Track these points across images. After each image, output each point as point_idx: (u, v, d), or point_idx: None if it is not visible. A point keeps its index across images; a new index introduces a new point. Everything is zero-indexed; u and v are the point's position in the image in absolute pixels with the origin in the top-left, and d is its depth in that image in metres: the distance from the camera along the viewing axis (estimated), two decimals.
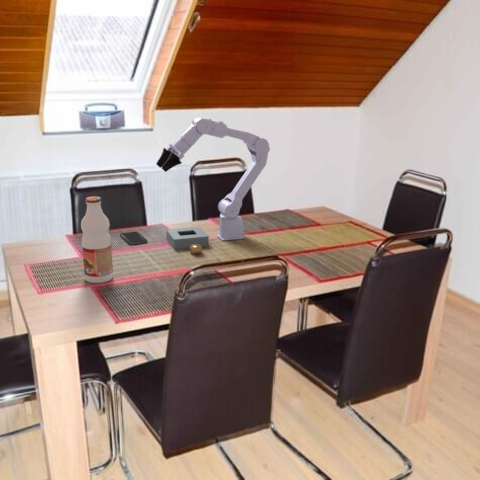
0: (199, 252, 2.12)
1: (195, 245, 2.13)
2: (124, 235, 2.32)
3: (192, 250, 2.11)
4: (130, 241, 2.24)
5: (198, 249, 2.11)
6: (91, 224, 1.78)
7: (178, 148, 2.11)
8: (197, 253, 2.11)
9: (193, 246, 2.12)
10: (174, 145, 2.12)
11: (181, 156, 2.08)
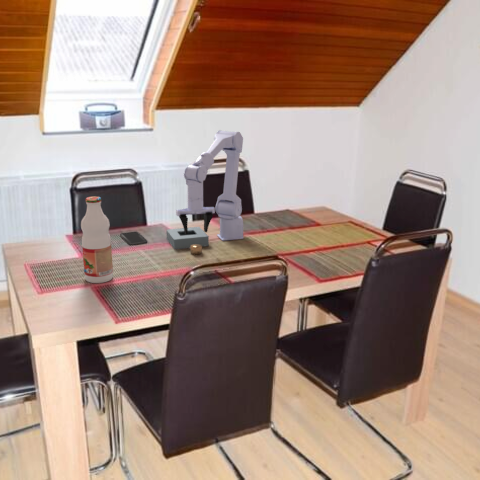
0: (199, 252, 2.12)
1: (195, 245, 2.13)
2: (124, 235, 2.32)
3: (192, 250, 2.11)
4: (130, 241, 2.24)
5: (198, 249, 2.11)
6: (91, 224, 1.78)
7: (203, 207, 2.08)
8: (197, 253, 2.11)
9: (193, 246, 2.12)
10: (200, 209, 2.06)
11: None
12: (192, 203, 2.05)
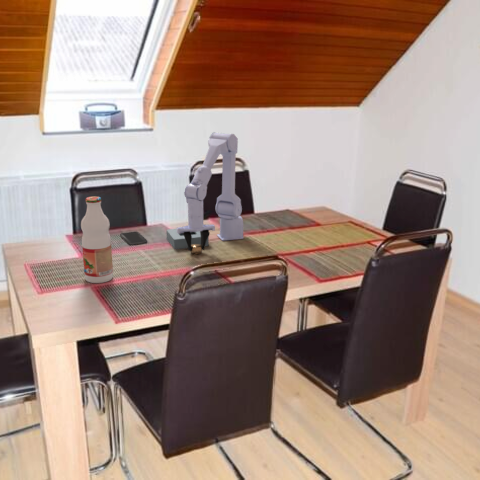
0: (199, 252, 2.12)
1: (195, 245, 2.13)
2: (124, 235, 2.32)
3: (192, 250, 2.11)
4: (130, 241, 2.24)
5: (198, 249, 2.11)
6: (91, 224, 1.78)
7: (203, 225, 2.10)
8: (197, 253, 2.11)
9: (193, 246, 2.12)
10: (200, 226, 2.08)
11: None
12: (192, 221, 2.07)
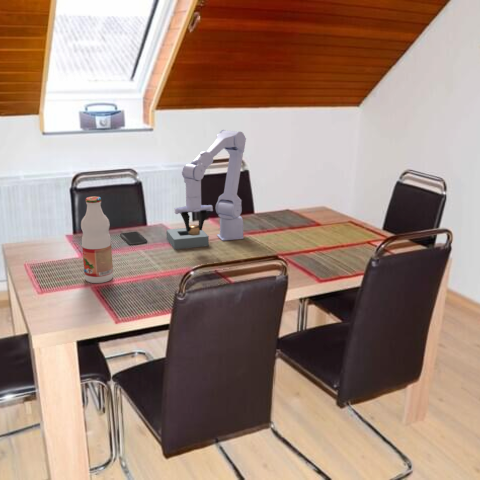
0: (197, 232, 2.12)
1: (193, 226, 2.13)
2: (124, 235, 2.32)
3: (190, 230, 2.12)
4: (130, 241, 2.24)
5: (196, 229, 2.12)
6: (91, 224, 1.78)
7: (201, 205, 2.10)
8: (195, 233, 2.12)
9: (191, 226, 2.13)
10: (198, 207, 2.09)
11: None
12: (190, 201, 2.07)
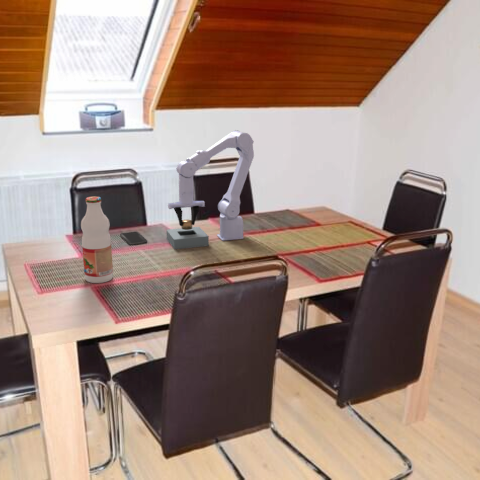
0: (189, 227, 2.22)
1: (186, 220, 2.23)
2: (124, 235, 2.32)
3: (183, 225, 2.22)
4: (130, 241, 2.24)
5: (188, 224, 2.22)
6: (91, 224, 1.78)
7: (193, 201, 2.20)
8: (188, 227, 2.22)
9: (184, 221, 2.23)
10: (190, 202, 2.19)
11: None
12: (183, 196, 2.17)
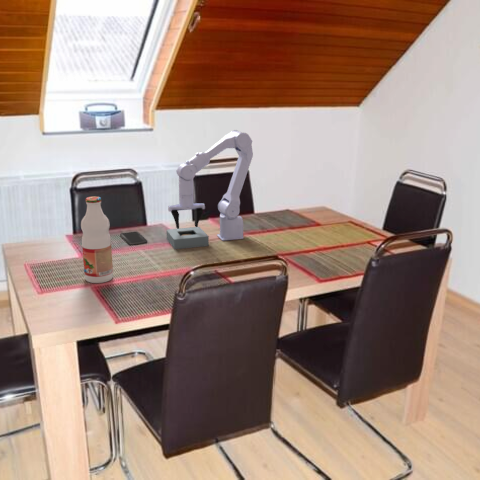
0: None
1: None
2: (124, 235, 2.32)
3: None
4: (130, 241, 2.24)
5: None
6: (91, 224, 1.78)
7: (193, 203, 2.21)
8: None
9: None
10: (190, 205, 2.19)
11: None
12: (183, 199, 2.18)
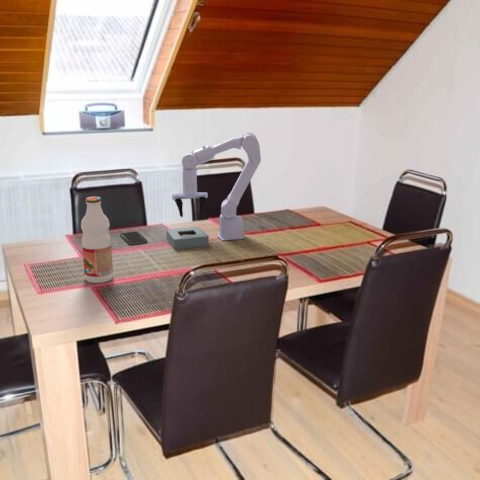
0: None
1: None
2: (124, 235, 2.32)
3: None
4: (130, 241, 2.24)
5: None
6: (91, 224, 1.78)
7: (196, 192, 2.26)
8: None
9: None
10: (194, 193, 2.24)
11: None
12: (186, 188, 2.23)
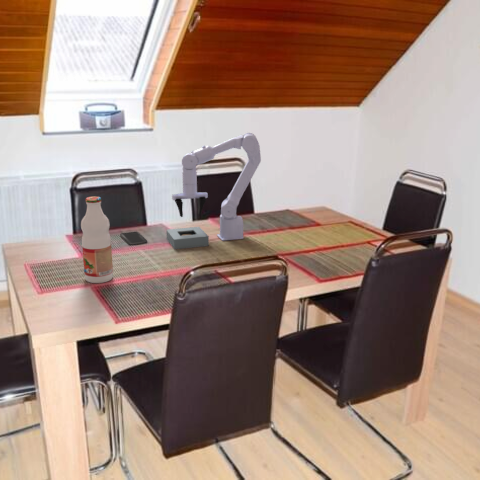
0: None
1: None
2: (124, 235, 2.32)
3: None
4: (130, 241, 2.24)
5: None
6: (91, 224, 1.78)
7: (196, 192, 2.26)
8: None
9: None
10: (194, 193, 2.24)
11: None
12: (186, 188, 2.23)
